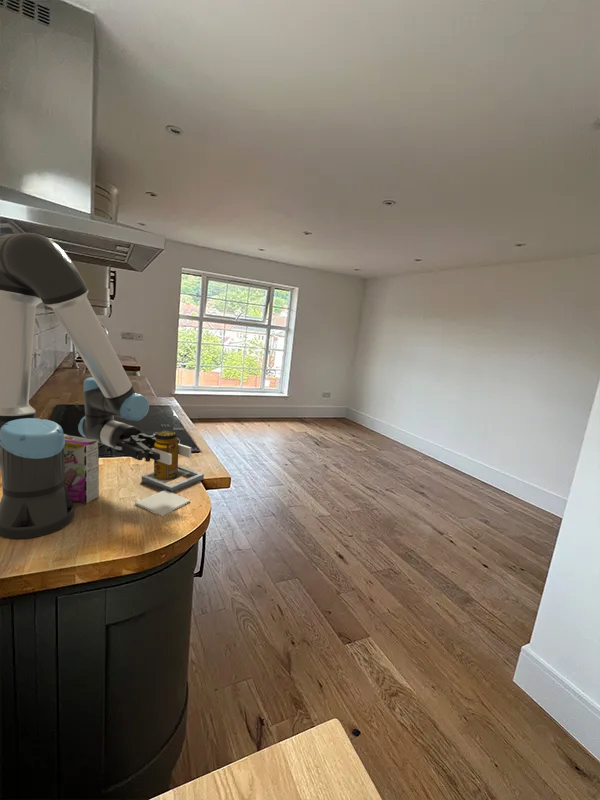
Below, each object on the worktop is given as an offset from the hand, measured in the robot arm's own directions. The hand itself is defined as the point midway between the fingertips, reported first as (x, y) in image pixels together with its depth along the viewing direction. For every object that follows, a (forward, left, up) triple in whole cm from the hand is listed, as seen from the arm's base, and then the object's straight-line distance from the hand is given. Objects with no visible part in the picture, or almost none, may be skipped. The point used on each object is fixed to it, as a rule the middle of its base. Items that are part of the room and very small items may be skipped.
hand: (180, 455), depth 96 cm
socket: (+12, +14, -15) cm, 23 cm away
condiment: (+1, +5, -7) cm, 9 cm away
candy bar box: (-12, +25, -15) cm, 32 cm away
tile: (0, +5, -15) cm, 16 cm away
